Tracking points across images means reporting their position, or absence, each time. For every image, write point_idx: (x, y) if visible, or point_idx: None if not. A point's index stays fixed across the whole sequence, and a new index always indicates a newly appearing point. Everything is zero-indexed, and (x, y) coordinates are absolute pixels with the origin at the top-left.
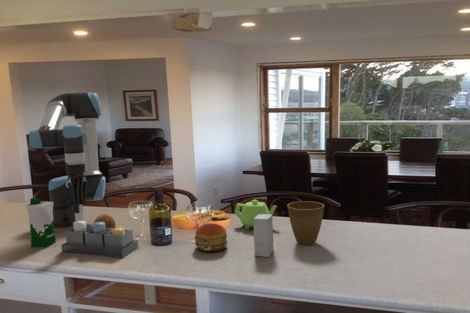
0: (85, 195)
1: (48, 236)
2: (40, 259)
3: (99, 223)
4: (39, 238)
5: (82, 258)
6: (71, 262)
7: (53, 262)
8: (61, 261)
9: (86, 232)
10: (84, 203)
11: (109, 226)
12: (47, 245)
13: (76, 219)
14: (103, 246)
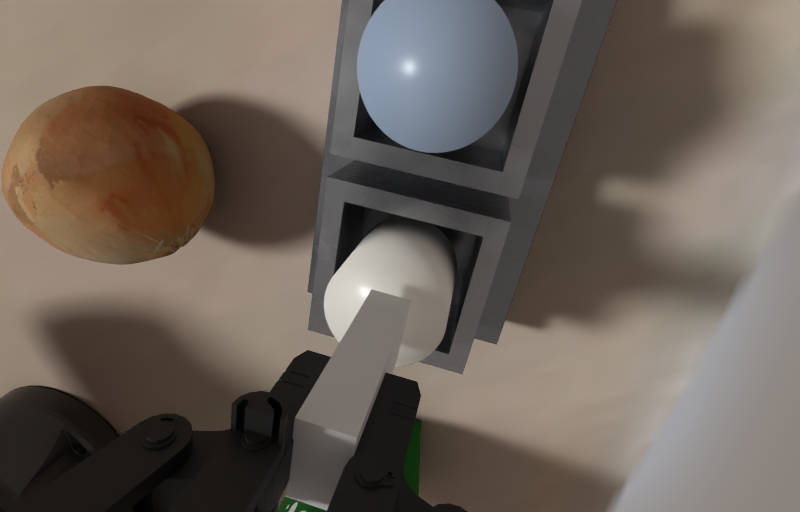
0: (63, 506)
1: None
2: (618, 389)
3: (433, 57)
4: (418, 488)
5: (645, 136)
6: (721, 184)
7: (692, 302)
8: (683, 260)
9: (502, 186)
10: (262, 395)
11: (152, 112)
12: None
13: (397, 355)
14: None
